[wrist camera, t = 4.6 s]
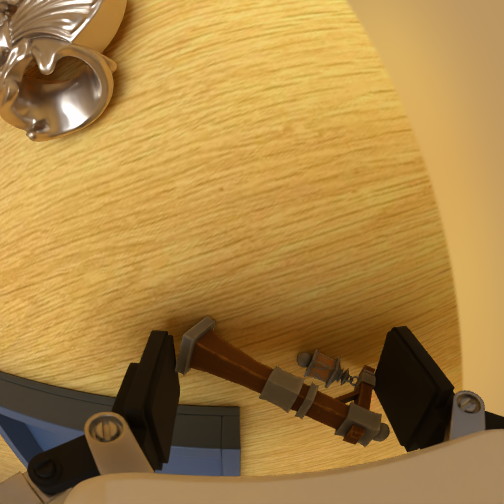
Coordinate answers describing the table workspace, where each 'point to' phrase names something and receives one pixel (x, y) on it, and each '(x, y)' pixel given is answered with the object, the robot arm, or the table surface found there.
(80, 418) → the blue tray
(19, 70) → the ornament
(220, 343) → the wooden post with brackets
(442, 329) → the table surface
